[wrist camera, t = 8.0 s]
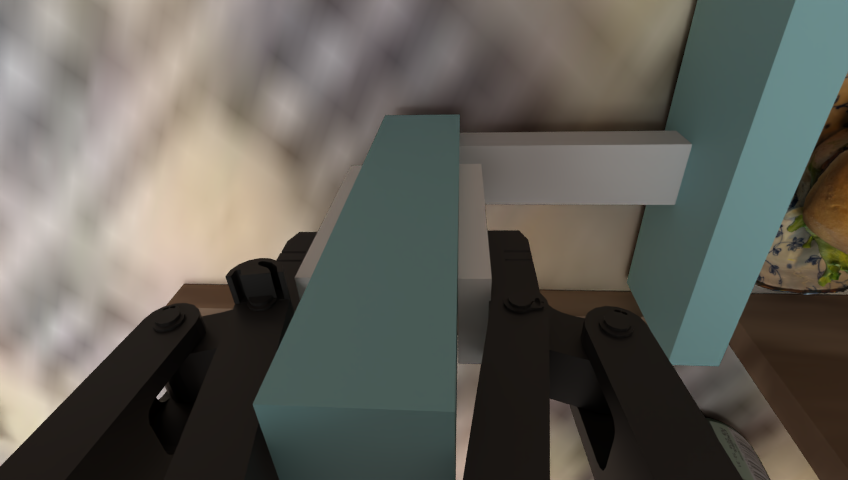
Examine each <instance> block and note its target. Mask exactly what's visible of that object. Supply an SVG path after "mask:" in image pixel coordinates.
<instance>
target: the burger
mask: <svg viewBox="0 0 848 480" xmlns="http://www.w3.org/2000/svg"><path fill="white" fill-rule="evenodd" d="M755 285H758V286H761V287H764V288H767V289H770V290H773V291H782V292H790V293H798V294H804V295H810V294H818V293H824V294H826V293H834V292H835V293H837V292H844V291H845V290H846V289H848V72H847V75H846V77H845V79H844V81H843V84H842V86H841V88H840V91H839V93H838V95H837V97H836V100H835V102H834V104H833V107H832V109H831V111H830V113H829V116H828V118H827V120H826V123H825V125H824V127H823V129H822V132H821V134H820V136H819V139H818V141H817V143H816V145H815V148H814V150H813V152H812V155H811V157H810V159H809V161H808V164H807V166H806V168H805V171H804V173H803V175H802V177H801V180H800V182H799V184H798V187H797V189H796V191H795V193H794V196H793V198H792V200H791V203H790V205H789V207H788V209H787V212H786V214H785V216H784V219H783V221H782V223H781V225H780V228H779V230H778V232H777V235H776V237H775V239H774V241H773V244H772V246H771V248H770V251H769V253H768V255H767V257H766V260H765V262H764V264H763V267H762V269H761V271H760V273H759V276H758V278H757V280H756V283H755Z"/></svg>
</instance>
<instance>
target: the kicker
mask: <svg viewBox="0 0 848 480" xmlns="http://www.w3.org/2000/svg"><path fill="white" fill-rule="evenodd" d="M847 72H848V0H697V4H696V8H695V12H694V16H693V20H692V24H691V28H690V32H689V36H688V40H687V44H686V48H685V52H684V56H683V60H682V64H681V68H680V72H679V76H678V80H677V84H676V88H675V92H674V96H673V100H672V104H671V108H670V112H669V116H668V120H667V124H666V128H665V131H588V132H484V133H460V115H385V117H384V119H383V122H382V124H381V126H380V128H379V130H378V133H377V135H376V137H375V139H374V141H373V143H372V146H371V148H370V150H369V152H368V154H367V156H366V159H365V161H364V163H363V165H362V167H361V170H360V172H359V174H358V176H357V178H356V180H355V183H354V185H353V187H352V189H351V191H350V193H349V196H348V198H347V200H346V202H345V204H344V207H343V209H342V211H341V213H340V215H339V217H338V220H337V222H336V224H335V226H334V228H333V230H332V233H331V235H330V237H329V239H328V241H327V244H326V246H325V248H324V250H323V252H322V254H321V257H320V259H319V261H318V263H317V265H316V267H315V270H314V272H313V274H312V276H311V278H310V281H309V283H308V285H307V287H306V289H305V291H304V294H303V296H302V298H301V300H300V302H299V304H298V307H297V309H296V311H295V313H294V315H293V318H292V320H291V322H290V324H289V326H288V328H287V331H286V333H285V335H284V337H283V339H282V341H281V344H280V346H279V348H278V350H277V352H276V355H275V357H274V359H273V361H272V363H271V365H270V368H269V370H268V372H267V374H266V376H265V378H264V381H263V383H262V385H261V387H260V389H259V392H258V394H257V396H256V398H255V400H254V402H253V407H254V410H255V413H256V415H257V418H258V421H259V424H260V427H261V430H262V432H263V435H264V438H265V441H266V444H267V446H268V449H269V452H270V455H271V458H272V461H273V463H274V466H275V469H276V472H277V475H278V478H279V480H456V407H457V330H458V231H459V164H481V166H482V177H483V188H484V199H485V204H529V205H646V208H645V212H644V216H643V220H642V223H641V227H640V231H639V235H638V239H637V243H636V247H635V251H634V255H633V259H632V263H631V267H630V271H629V275H628V279H627V284H628V286H629V288H630V290H631V292H632V294H633V296H634V298H635V300H636V302H637V304H638V306H639V308H640V310H641V312H642V314H643V316H644V318H645V320H646V322H647V324H648V326H649V328H650V330H651V332H652V333H653V335H654V337H655V338H656V340H657V341H658V343H659V345H660V346H661V348H662V350H663V351H664V353H665V354H666V356H667V358H668V359H669V361H670V362H671V364H672V365H692V366H719V365H720V362H721V360H722V358H723V356H724V353H725V351H726V349H727V347H728V344H729V342H730V340H731V337H732V335H733V333H734V331H735V328H736V326H737V324H738V321H739V319H740V317H741V315H742V312H743V310H744V308H745V305H746V303H747V301H748V299H749V296H750V294H751V292H752V289H753V287H754V285H755V283H756V280H757V278H758V276H759V273H760V271H761V269H762V267H763V264H764V262H765V260H766V257H767V255H768V253H769V251H770V248H771V246H772V244H773V241H774V239H775V237H776V235H777V232H778V230H779V228H780V225H781V223H782V221H783V219H784V216H785V214H786V212H787V209H788V207H789V205H790V203H791V200H792V198H793V196H794V193H795V191H796V189H797V187H798V184H799V182H800V180H801V177H802V175H803V173H804V171H805V168H806V166H807V164H808V161H809V159H810V157H811V155H812V152H813V150H814V148H815V145H816V143H817V141H818V139H819V136H820V134H821V132H822V129H823V127H824V125H825V123H826V120H827V118H828V116H829V113H830V111H831V109H832V107H833V104H834V102H835V100H836V97H837V95H838V93H839V91H840V88H841V86H842V84H843V81H844V79H845V77H846V75H847Z"/></svg>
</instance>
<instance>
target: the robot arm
mask: <svg viewBox="0 0 848 480" xmlns="http://www.w3.org/2000/svg"><path fill="white" fill-rule="evenodd" d="M361 167H362V165H352V166H351V167H350V169H349V171H348V173H347V175H346V177H345V179H344V181H343V183H342V185H341V187H340V189H339V191H338V193H337V195H336V197H335V199H334V201H333V203H332V205H331V207H330V208H329V210H328V212H327V214H326V216H325V218H324V220H323V222H322V224H321V226H320V228H319V230H318V232H299V233H298V234H296V235H295V236H294V237H293V238H291V239H290V240H289V241H287V243H286V245H285V247H284V248H283V250H282V253H280V255H279V257H278V258H277V261H276V260H273V259H268V258H259V259H254V260H249V261H246V262H244V263H241V264H239V265H237V266H236V267H234V268H233V269H231V270H230V271H229V273H228V274H227V275H226V280H227V283H228V285H229V288H230V291H231V294H232V297H233V300H234V303H235V305H234V307H233V309H232V310H229V311H225V312H221V313H216V314H211V315H206V316H201V313H200V311H199V309H198V308H197V307H196V306H195V305H193V304H189V303H175V304H172V305H168V306H165V307H162V308H160V309H158V310H156V311H154V312H152V313H151V314H150V315H149V316H147V317H146V318H145V319H144V320H143V321H142V322H141V323H140V324H139V325H138V326H137V327H136V328H135V329H134V330H133V331H132V332H131V333H130V334H129V335H128V336H127V337H126V338H125V339H124V340H123V341H122V342H121V343H120V344H119V345H118V346H117V347H116V348H115V349H114V350H113V352H112V353H111V354H110V355H109V356H108V357H107V358H106V359H105V360H104V361H103V362H102V363H101V364H100V365H99V366H98V367H97V368H96V369H95V370H94V371H93V372H92V373H91V374H90V375H89V376H88V377H87V378H86V379H85V380H84V381H83V382H82V383H81V384H80V385H79V386H78V387H77V388H76V389H75V390H74V391H73V393H72V394H71V395H70V396H69V397H68V398H67V399H66V400H65V401H64V402H63V403H62V404H61V405H60V406H59V407H58V408H57V409H56V410H55V411H54V412H53V413H52V414H51V415H50V416H49V417H48V418H47V419H46V420H45V421H44V422H43V423H42V424H41V425H40V426H39V427H38V428H37V429H36V430H35V431H34V432H33V434H32V435H31V436H30V437H29V438H28V439H27V440H26V441H25V442H24V443H23V444H22V445H21V446H20V447H19V448H18V449H17V450H16V451H15V452H14V453H13V454H12V455H11V456H10V457H9V458H8V459H7V460H6V461H5V462H4V463H3V464H2V465H1V466H0V480H279V478H278V475H277V472H276V469H275V466H274V463H273V461H272V458H271V455H270V452H269V449H268V446H267V444H266V441H265V438H264V435H263V432H262V430H261V427H260V424H259V421H258V418H257V415H256V413H255V410H254V407H253V402H254V400H255V398H256V396H257V394H258V392H259V389H260V387H261V385H262V383H263V381H264V378H265V376H266V374H267V372H268V370H269V368H270V365H271V363H272V361H273V359H274V357H275V355H276V352H277V350H278V348H279V346H280V344H281V341H282V339H283V337H284V335H285V333H286V331H287V328H288V326H289V324H290V322H291V320H292V318H293V315H294V313H295V311H296V309H297V307H298V304H299V302H300V300H301V298H302V296H303V294H304V291H305V289H306V287H307V285H308V283H309V281H310V278H311V276H312V274H313V272H314V270H315V267H316V265H317V263H318V261H319V259H320V257H321V254H322V252H323V250H324V248H325V246H326V244H327V241H328V239H329V237H330V235H331V233H332V230H333V228H334V226H335V224H336V222H337V220H338V217H339V215H340V213H341V211H342V209H343V207H344V204H345V202H346V200H347V198H348V196H349V193H350V191H351V189H352V187H353V185H354V183H355V180H356V178H357V176H358V174H359V172H360V170H361ZM458 363H460V364H481V369H480V375H479V382H478V388H477V394H476V400H475V407H474V413H473V419H472V426H471V432H470V438H469V445H468V451H467V457H466V463H465V470H464V476H463V480H550V399H554V400H557V401H560V402H563V403H567V404H570V408H571V411H572V414H573V417H574V420H575V423H576V426H577V429H578V432H579V435H580V437H581V440H582V443H583V446H584V449H585V452H586V455H587V458H588V461H589V464H590V467H591V470H592V473H593V476H594V479H595V480H743V478H742V477H741V475H740V474H739V472H738V470H737V469H736V467H735V466H734V464H733V462H732V461H731V459H730V457H729V456H728V454H727V453H726V451H725V449H724V448H723V446H722V445H721V443H720V441H719V440H718V438H717V437H716V435H715V433H714V432H713V430H712V428H711V427H710V425H709V424H708V422H707V420H706V419H705V417H704V416H703V414H702V412H701V411H700V409H699V408H698V406H697V404H696V403H695V401H694V399H693V398H692V396H691V395H690V393H689V391H688V390H687V388H686V387H685V385H684V383H683V382H682V380H681V379H680V377H679V375H678V374H677V372H676V370H675V369H674V367H673V366H672V364H671V362H670V361H669V359H668V358H667V356H666V354H665V353H664V351H663V350H662V348H661V346H660V345H659V343H658V341H657V340H656V338H655V337H654V335H653V333H652V332H651V330H650V329H649V327H648V325H647V324H646V323H645V322H644V321H643V320H642V319H641V318H640V317H639V316H638V315H636V314H634V313H633V312H631V311H629V310H626V309H623V308H619V307H613V306H602V307H597V308H594V309H592V310H591V311H589V312H588V313H587V315H586V317H585V318H581V317H577V316H573V315H569V314H566V313H562V312H560V311H558V310H556V309H554V308H552V307H551V306H550V305H548V301H547V299H546V298H545V297H544V296H543V295H542V294H541V293H540V290H539V286H538V281H537V277H536V273H535V268H534V264H533V261H532V255H531V253H530V246H529V242H528V239H527V238H526V237H525V236H524V235H523V234H522V233H521V232H520V231H487V221H486V210H485V199H484V188H483V177H482V166H481V164H459V231H458ZM164 386H165V388H166V390H167V391H166V393H165V394H164V395H163V396H162V397H161V398H160V399H159V400H158V399H157V398H156V397H157V395H158V394H159V393H160V391H161V390H162V389H163V388H164Z"/></svg>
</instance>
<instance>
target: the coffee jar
mask: <svg viewBox="0 0 848 480" xmlns="http://www.w3.org/2000/svg"><path fill="white" fill-rule="evenodd" d="M705 419H706V420H707V422H708V424H709V425H710V427H711V428H712V430H713V432H714V433H715V435H716V437H717V438H718V440H719V441H720V443H721V445H722V446H723V448H724V449H725V451H726V453H727V454H728V456H729V457H730V459H731V461H732V462H733V464H734V466H735V467H736V469H737V470H738V472H739V474H740V475H741V477H742V478H743V480H770V478H769V476H768V474H767V472H766V470H765V469H764V467H763V465H762V463H761V461H760V459H759V457H758V456H757V454H756V452H755V451H754V449H753V448H752V446H751V445H750V444H749V443H748V442H747V440H746V439H745V438H744V437H743V436H742V435H741V434H739V433H738V432H737V431H735V430H734V429H733V428H731V427H730V426H728V425H726V424H724V423H722V422H720V421H717V420H714V419H710V418H705Z"/></svg>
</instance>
